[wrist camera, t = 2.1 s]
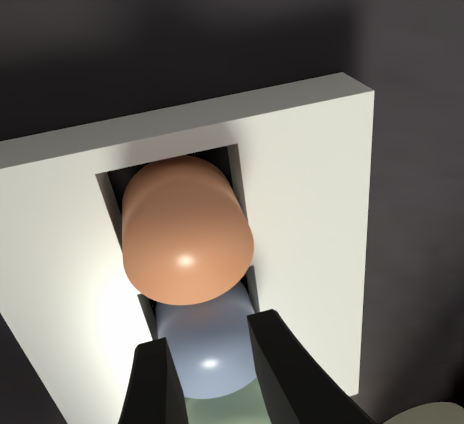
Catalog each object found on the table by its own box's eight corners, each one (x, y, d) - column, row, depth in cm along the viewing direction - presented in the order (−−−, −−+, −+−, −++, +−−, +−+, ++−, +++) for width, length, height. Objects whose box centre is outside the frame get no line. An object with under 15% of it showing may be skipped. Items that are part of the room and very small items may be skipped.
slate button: (252, 326, 20) (271, 382, 17) (166, 350, 19) (173, 410, 17) (242, 260, 18) (262, 312, 15) (145, 284, 17) (150, 342, 15)
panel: (338, 357, 25) (357, 393, 23) (98, 426, 24) (96, 470, 22) (342, 72, 16) (374, 90, 14) (-51, 151, 14) (-78, 185, 12)
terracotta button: (238, 236, 17) (259, 287, 14) (137, 261, 16) (141, 318, 14) (224, 144, 15) (246, 185, 12) (107, 169, 14) (105, 217, 12)
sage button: (262, 394, 23) (280, 449, 20) (188, 415, 22) (196, 475, 20) (255, 344, 20) (274, 399, 18) (172, 366, 20) (179, 427, 18)
